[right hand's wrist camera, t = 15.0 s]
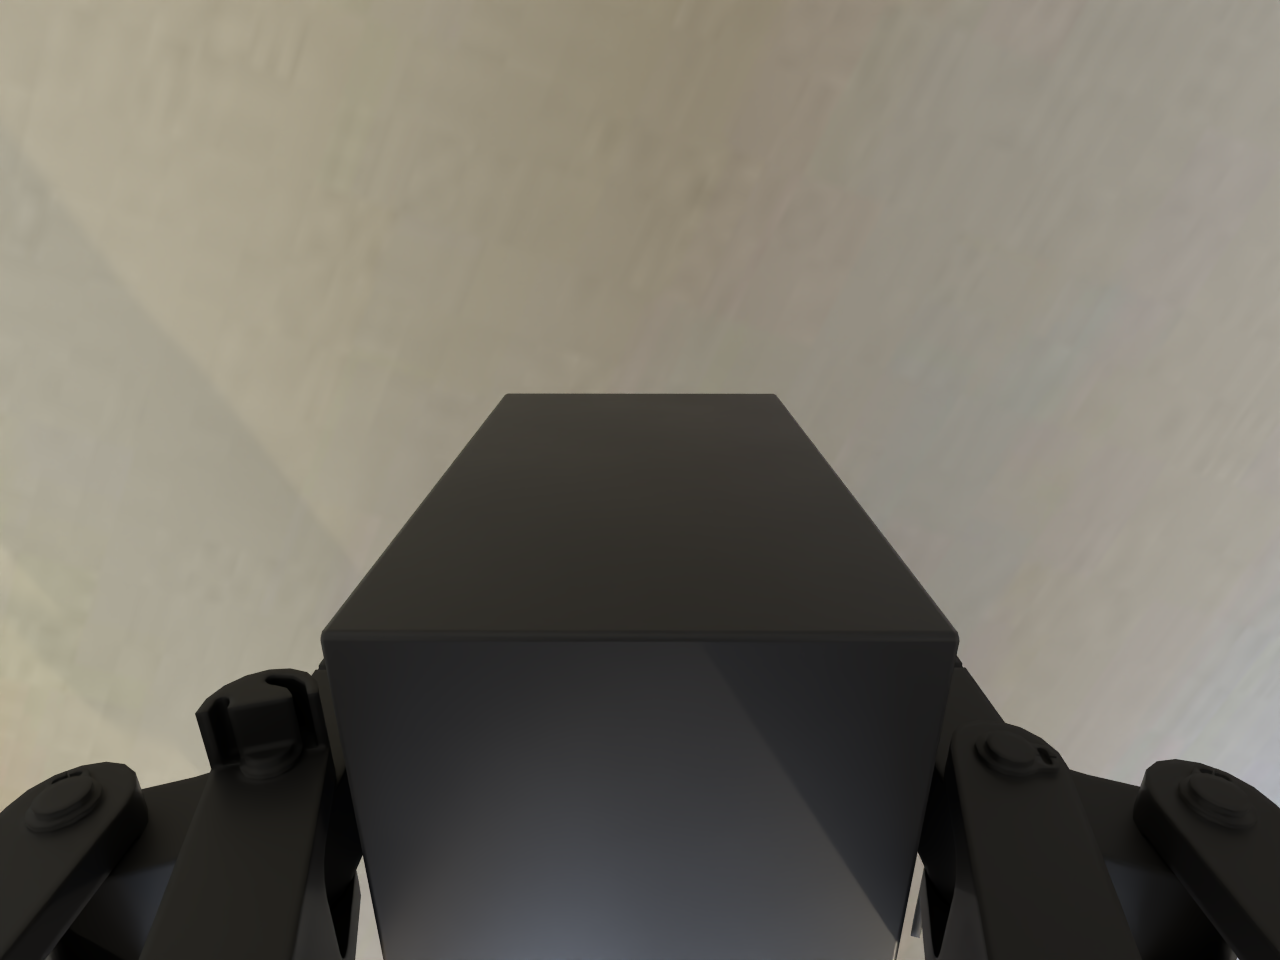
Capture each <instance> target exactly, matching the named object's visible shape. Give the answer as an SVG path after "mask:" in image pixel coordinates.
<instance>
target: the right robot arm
mask: <svg viewBox="0 0 1280 960" xmlns="http://www.w3.org/2000/svg"><path fill="white" fill-rule="evenodd" d="M195 715H196V718H197V722H198V725H199V728H200V732H201V735H202V739H203V742H204V745H205V749H206V752H207V756H208V759H209V762H210V766H211V771H210V773H207V774H204V775H200V776H197V777H193V778H189V779H184V780H180V781H176V782H171V783H167V784H163V785H158V786H154V787H150V788H145V789H141V787H140V784H139V781H138V779H137V776H136V773H135V772H134V771H133V770H132V769H130V768H129V767H128V766H126V765H125V764H119V763H111V762H102V763H96V764H89V765H83V766H80V767H77V768H74V769H71V770H68V771H65V772H63V773H60V774H57V775H54V776H53V777H51V778H49V779H47V780H45V781H44V782H42V783H40V784H38V785H36V786H34V787H33V788H31V789H29V790H27V791H26V792H25V793H24V794H22V795H21V796H20V797H19V798H17V799H16V800H15V801H14V802H12V803H11V804H10V805H9V806H7V807H6V808H5V809H4V810H3V811H2V812H1V813H0V960H355V954H356V943H357V932H358V921H359V910H360V899H361V893H360V887H359V881H358V876H357V871H356V869H357V867H358V864H359V862H360V860H361V858H362V855H363V853H362V848H361V843H360V838H359V833H358V828H357V823H356V818H355V812H354V807H353V802H352V797H351V792H350V787H349V782H348V777H347V772H346V767H345V762H344V757H343V752H342V746H341V741H340V736H339V731H338V726H337V721H336V716H335V711H334V706H333V701H332V696H331V691H330V686H329V681H328V675H327V670H326V665H325V660H324V659H323V660H322V662H321V663H320V665H319V669H318V670H315V672H314V673H313V674H312V676H311V675H310V674H308V673H307V672H304V671H299V670H295V669H272V670H266V671H262V672H258V673H254V674H251V675H247V676H244V677H242V678H240V679H238V680H236V681H234V682H231V683H229V684H227V685H225V686H223V687H222V688H221V689H219V690H218V691H216V692H215V693H214V694H212V695H211V696H210V697H208V698H207V699H206V700H205V701H204V703H203V704H202V705H201V707H200V708H199V709H198V711H197V712H196V713H195ZM918 853H919V855H920V858H921V860H922V862H923V864H924V871H923V876H922V881H921V885H920V890H919V895H918V900H917V904H916V909H915V914H914V919H913V925H912V931H911V936H914V937H918V938H920V934H921V930H923V941H924V952H925V960H1236V959H1237V957H1238V958H1239V960H1280V808H1279V807H1278V806H1277V805H1276V804H1274V803H1273V802H1272V801H1271V800H1269V799H1268V798H1267V797H1266V796H1264V795H1263V794H1262V793H1261V792H1259V791H1258V790H1257V789H1255V788H1254V787H1253V786H1251V785H1249V784H1247V783H1245V782H1243V781H1242V780H1240V779H1238V778H1236V777H1234V776H1232V775H1231V774H1229V773H1227V772H1224V771H1221V770H1219V769H1216V768H1213V767H1210V766H1207V765H1204V764H1201V763H1197V762H1190V761H1184V760H1178V759H1173V760H1165V761H1157V762H1156V763H1154V764H1153V765H1152V766H1150V767H1149V768H1148V769H1147V770H1146V772H1145V775H1144V778H1143V780H1142V783H1141V786H1140V787H1139V786H1134V785H1130V784H1126V783H1121V782H1117V781H1113V780H1108V779H1104V778H1099V777H1095V776H1091V775H1086V774H1083V773H1080V772H1076V771H1073V770H1070V769H1069V768H1068V766H1067V765H1066V763H1065V762H1064V760H1063V759H1062V757H1061V755H1060V754H1059V752H1057V751H1056V750H1055V749H1054V748H1053V747H1051V746H1050V745H1049V744H1048V743H1047V742H1045V741H1044V740H1043V739H1042V738H1040V737H1038V736H1036V735H1034V734H1032V733H1030V732H1028V731H1026V730H1025V729H1023V728H1021V727H1017V726H1014V725H1010V724H1007V723H1005V722H1004V721H1003V719H1002V718H1001V717H1000V715H999V714H998V712H997V711H996V710H995V708H994V707H993V705H992V704H991V703H990V701H989V700H988V698H987V697H986V696H985V694H984V693H983V692H982V690H981V689H980V687H979V686H978V685H977V683H976V682H975V680H974V679H973V678H972V676H971V675H970V673H969V672H968V671H967V669H966V668H963V667H962V662H961V661H960V659H959V658H958V657H957V655H956V660H955V665H954V670H953V675H952V680H951V685H950V690H949V696H948V701H947V706H946V711H945V716H944V721H943V726H942V731H941V736H940V741H939V746H938V751H937V756H936V761H935V766H934V771H933V776H932V781H931V786H930V791H929V796H928V802H927V807H926V812H925V817H924V822H923V827H922V832H921V837H920V842H919V847H918Z"/></svg>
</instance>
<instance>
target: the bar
mask: <svg viewBox="0 0 1280 960" xmlns="http://www.w3.org/2000/svg"><path fill="white" fill-rule="evenodd" d="M321 645H322V650H323V655H324V660H325V665H326V670H327V675H328V681H329V686H330V691H331V696H332V701H333V706H334V711H335V716H336V721H337V726H338V731H339V736H340V741H341V746H342V752H343V757H344V762H345V767H346V772H347V777H348V782H349V787H350V792H351V797H352V802H353V807H354V812H355V818H356V823H357V828H358V833H359V838H360V843H361V848H362V853H363V858H364V863H365V868H366V873H367V878H368V883H369V889H370V894H371V899H372V904H373V909H374V914H375V919H376V924H377V929H378V934H379V939H380V944H381V949H382V954H383V960H896V958H897V953H898V948H899V943H900V938H901V933H902V928H903V923H904V918H905V913H906V908H907V902H908V897H909V892H910V887H911V882H912V877H913V872H914V867H915V862H916V857H917V852H918V847H919V842H920V837H921V832H922V827H923V822H924V817H925V812H926V807H927V802H928V796H929V791H930V786H931V781H932V776H933V771H934V766H935V761H936V756H937V751H938V746H939V741H940V736H941V731H942V726H943V721H944V716H945V711H946V706H947V701H948V696H949V690H950V685H951V680H952V675H953V670H954V665H955V660H956V655H957V650H958V645H959V636H958V632H957V631H956V630H955V628H954V627H953V626H952V624H951V623H950V622H949V620H948V619H947V618H946V617H945V615H944V614H943V613H942V611H941V610H940V609H939V607H938V606H937V605H936V603H935V602H934V601H933V600H932V598H931V597H930V596H929V594H928V593H927V592H926V590H925V589H924V588H923V586H922V585H921V584H920V583H919V581H918V580H917V579H916V577H915V576H914V575H913V573H912V572H911V571H910V569H909V568H908V567H907V566H906V564H905V563H904V562H903V560H902V559H901V558H900V556H899V555H898V554H897V552H896V551H895V550H894V549H893V547H892V546H891V545H890V543H889V542H888V541H887V539H886V538H885V537H884V535H883V534H882V533H881V532H880V530H879V529H878V528H877V526H876V525H875V524H874V522H873V521H872V520H871V519H870V517H869V516H868V515H867V513H866V512H865V511H864V509H863V508H862V507H861V505H860V504H859V503H858V502H857V500H856V499H855V498H854V496H853V495H852V494H851V492H850V491H849V490H848V488H847V487H846V486H845V485H844V483H843V482H842V481H841V479H840V478H839V477H838V475H837V474H836V473H835V471H834V470H833V469H832V468H831V466H830V465H829V464H828V462H827V461H826V460H825V458H824V457H823V456H822V454H821V453H820V452H819V451H818V449H817V448H816V447H815V445H814V444H813V443H812V441H811V440H810V439H809V438H808V436H807V435H806V434H805V432H804V431H803V430H802V428H801V427H800V426H799V424H798V423H797V422H796V421H795V419H794V418H793V417H792V415H791V414H790V413H789V411H788V410H787V409H786V407H785V406H784V405H783V404H782V402H781V401H780V400H779V398H778V397H777V396H776V395H775V394H506V395H505V396H504V397H503V398H502V400H501V401H500V402H499V404H498V405H497V406H496V408H495V409H494V410H493V411H492V413H491V414H490V415H489V417H488V418H487V419H486V420H485V422H484V423H483V424H482V426H481V427H480V428H479V429H478V431H477V432H476V433H475V435H474V436H473V437H472V439H471V440H470V441H469V442H468V444H467V445H466V446H465V448H464V449H463V450H462V451H461V453H460V454H459V455H458V457H457V458H456V459H455V461H454V462H453V463H452V464H451V466H450V467H449V468H448V470H447V471H446V472H445V473H444V475H443V476H442V477H441V479H440V480H439V481H438V482H437V484H436V485H435V486H434V488H433V489H432V490H431V492H430V493H429V494H428V495H427V497H426V498H425V499H424V501H423V502H422V503H421V504H420V506H419V507H418V508H417V510H416V511H415V512H414V514H413V515H412V516H411V517H410V519H409V520H408V521H407V523H406V524H405V525H404V526H403V528H402V529H401V530H400V532H399V533H398V534H397V535H396V537H395V538H394V539H393V541H392V542H391V543H390V545H389V546H388V547H387V548H386V550H385V551H384V552H383V554H382V555H381V556H380V557H379V559H378V560H377V561H376V563H375V564H374V565H373V567H372V568H371V569H370V570H369V572H368V573H367V574H366V576H365V577H364V578H363V579H362V581H361V582H360V583H359V585H358V586H357V587H356V588H355V590H354V591H353V592H352V594H351V595H350V596H349V598H348V599H347V600H346V601H345V603H344V604H343V605H342V607H341V608H340V609H339V610H338V612H337V613H336V614H335V616H334V617H333V618H332V620H331V621H330V622H329V623H328V625H327V626H326V627H325V629H324V630H323V631H322V634H321Z"/></svg>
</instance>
